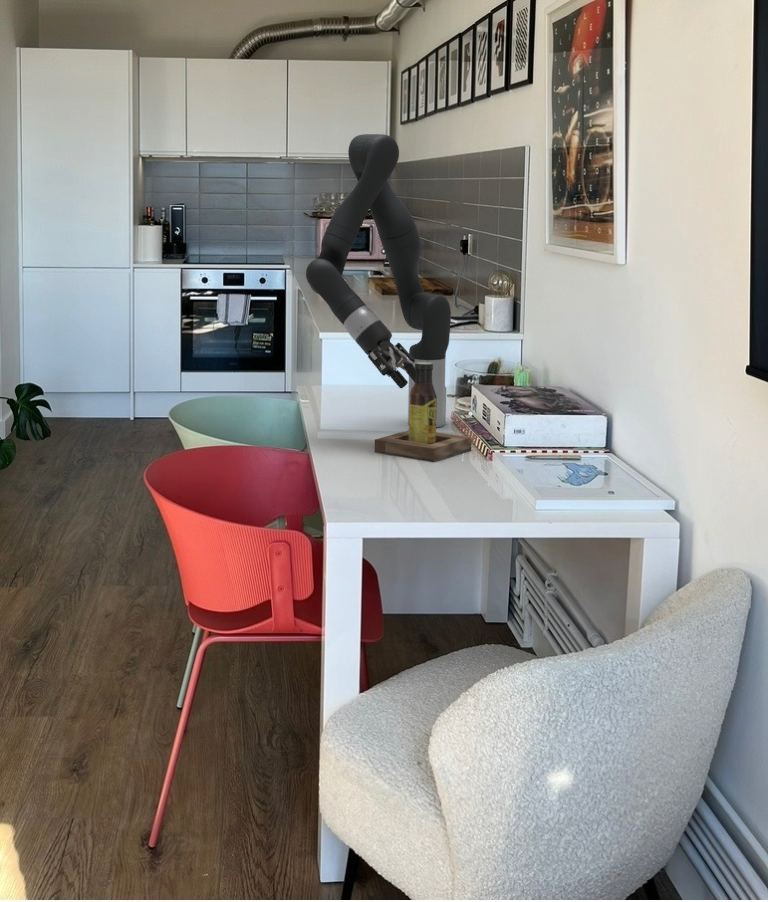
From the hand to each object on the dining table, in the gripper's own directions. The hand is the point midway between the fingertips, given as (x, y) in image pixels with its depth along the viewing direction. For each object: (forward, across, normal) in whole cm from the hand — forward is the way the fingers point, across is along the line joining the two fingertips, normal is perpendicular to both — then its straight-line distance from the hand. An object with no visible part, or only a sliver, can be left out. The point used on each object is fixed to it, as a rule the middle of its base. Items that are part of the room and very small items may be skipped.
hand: (412, 383), depth 275 cm
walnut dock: (+13, 0, +9) cm, 16 cm away
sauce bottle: (+13, 0, +9) cm, 15 cm away
